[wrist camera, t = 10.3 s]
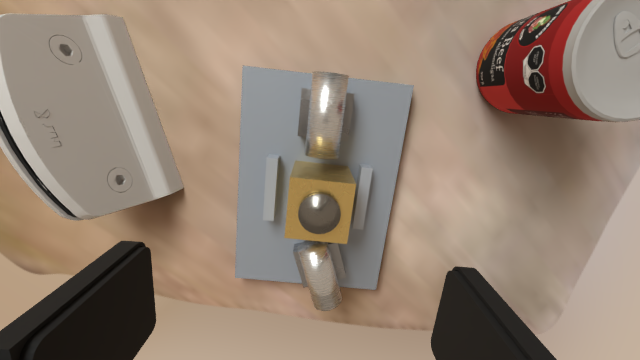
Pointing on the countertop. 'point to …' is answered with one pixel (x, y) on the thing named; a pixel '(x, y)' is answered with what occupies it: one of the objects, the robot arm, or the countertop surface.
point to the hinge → (80, 115)
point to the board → (286, 146)
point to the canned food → (567, 62)
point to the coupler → (319, 202)
